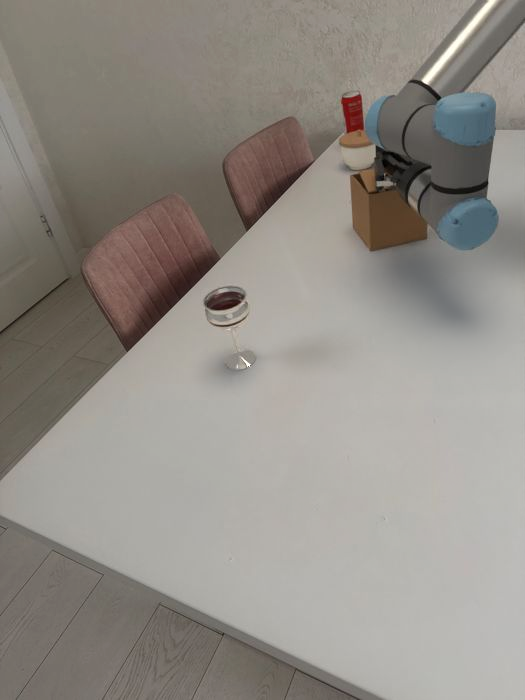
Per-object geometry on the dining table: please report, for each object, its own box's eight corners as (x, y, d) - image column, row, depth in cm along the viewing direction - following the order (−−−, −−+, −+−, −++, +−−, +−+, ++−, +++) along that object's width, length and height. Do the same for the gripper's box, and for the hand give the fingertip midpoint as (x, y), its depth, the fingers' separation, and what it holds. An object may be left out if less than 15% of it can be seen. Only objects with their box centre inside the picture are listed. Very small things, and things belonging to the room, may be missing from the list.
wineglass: (269, 352, 81) (256, 290, 73) (244, 378, 77) (228, 315, 69) (236, 342, 84) (220, 282, 77) (211, 366, 80) (192, 305, 73)
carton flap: (429, 179, 93) (429, 177, 93) (368, 193, 93) (368, 191, 92) (418, 159, 96) (418, 158, 96) (359, 172, 96) (359, 171, 95)
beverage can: (367, 143, 149) (365, 88, 140) (361, 151, 145) (358, 95, 136) (348, 143, 152) (345, 90, 142) (341, 151, 147) (338, 96, 138)
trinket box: (332, 169, 137) (330, 134, 132) (358, 156, 142) (357, 121, 136) (362, 176, 130) (361, 139, 125) (389, 162, 135) (388, 125, 129)
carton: (427, 238, 100) (429, 181, 93) (370, 251, 100) (368, 195, 93) (404, 215, 110) (405, 162, 102) (352, 227, 109) (349, 174, 102)
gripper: (389, 221, 82) (348, 174, 101) (465, 203, 83) (410, 160, 101) (389, 176, 78) (346, 136, 96) (470, 158, 78) (411, 121, 97)
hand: (379, 148), depth 99 cm, fingers closed
